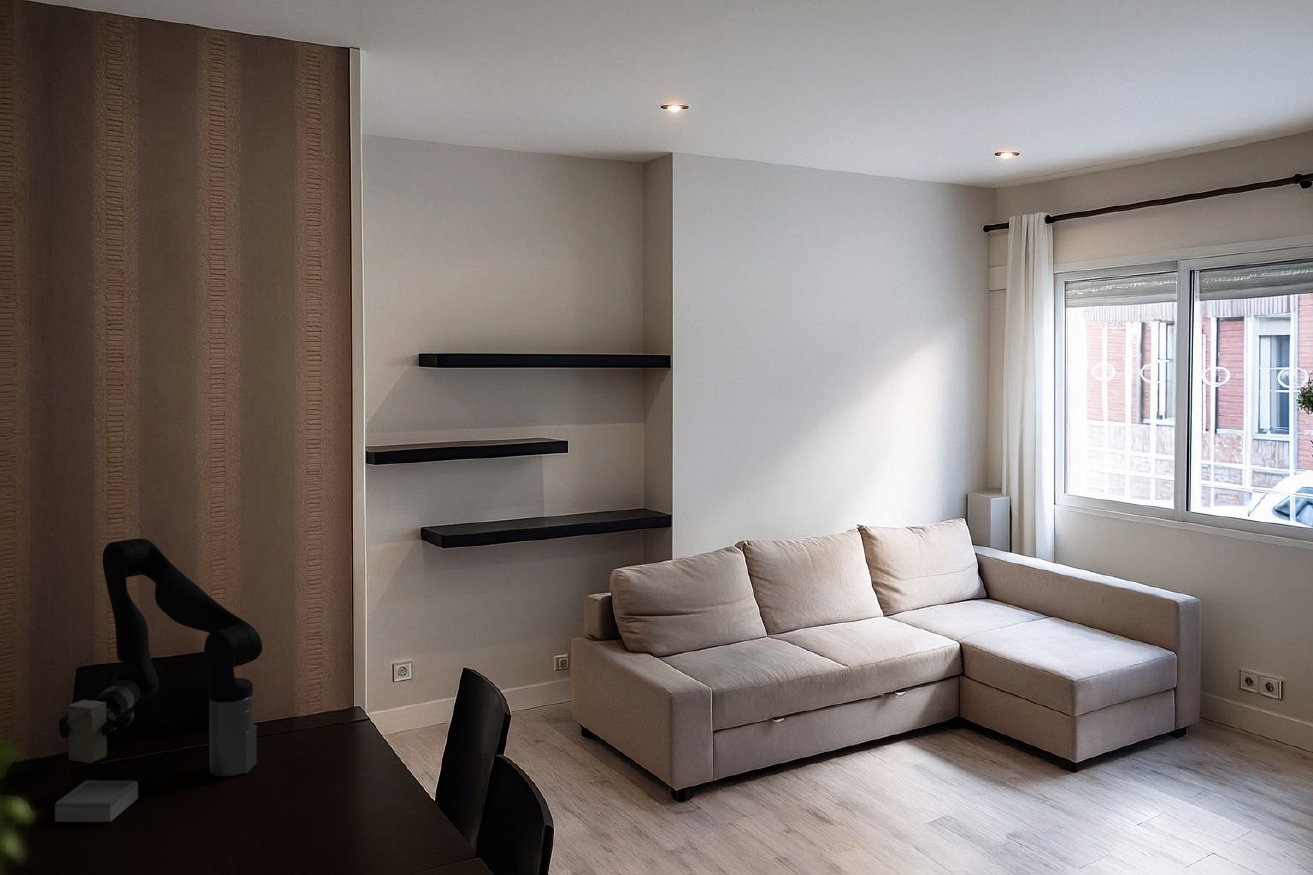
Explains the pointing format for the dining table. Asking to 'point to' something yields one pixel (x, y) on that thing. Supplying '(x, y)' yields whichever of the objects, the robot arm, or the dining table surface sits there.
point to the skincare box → (87, 731)
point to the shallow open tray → (96, 801)
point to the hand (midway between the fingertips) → (84, 732)
